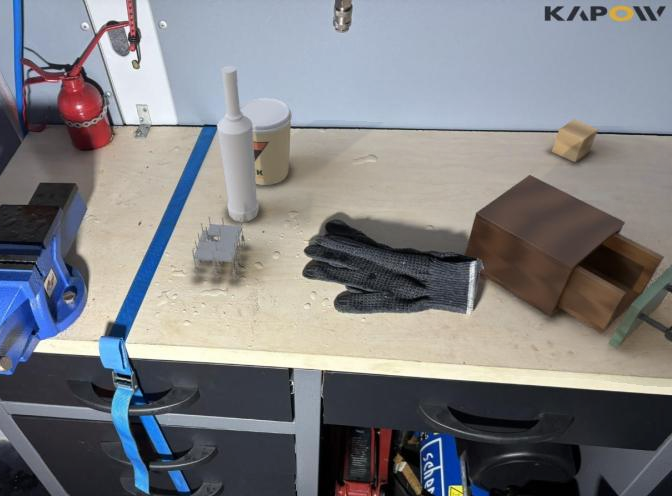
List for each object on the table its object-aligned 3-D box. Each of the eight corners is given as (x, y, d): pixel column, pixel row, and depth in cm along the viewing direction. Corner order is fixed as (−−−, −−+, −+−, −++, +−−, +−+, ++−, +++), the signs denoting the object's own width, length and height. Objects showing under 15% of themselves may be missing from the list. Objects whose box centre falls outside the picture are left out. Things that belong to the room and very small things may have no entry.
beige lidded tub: (230, 171, 108) (223, 110, 99) (270, 150, 112) (267, 90, 103) (262, 195, 103) (257, 133, 94) (303, 173, 107) (303, 112, 98)
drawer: (697, 324, 79) (727, 283, 73) (653, 372, 74) (682, 332, 69) (570, 254, 89) (588, 212, 83) (524, 292, 84) (540, 251, 78)
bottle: (258, 222, 98) (246, 77, 80) (227, 223, 99) (208, 79, 80) (259, 202, 102) (248, 59, 83) (229, 203, 102) (211, 60, 84)
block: (565, 141, 109) (574, 119, 106) (589, 152, 107) (598, 129, 104) (551, 151, 108) (559, 129, 104) (574, 162, 105) (583, 139, 102)
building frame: (195, 280, 90) (189, 251, 86) (206, 244, 95) (202, 214, 91) (236, 283, 89) (233, 253, 85) (245, 246, 95) (242, 217, 90)
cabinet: (599, 272, 87) (625, 221, 80) (549, 317, 82) (572, 267, 75) (513, 224, 95) (529, 174, 88) (462, 262, 90) (475, 212, 83)
